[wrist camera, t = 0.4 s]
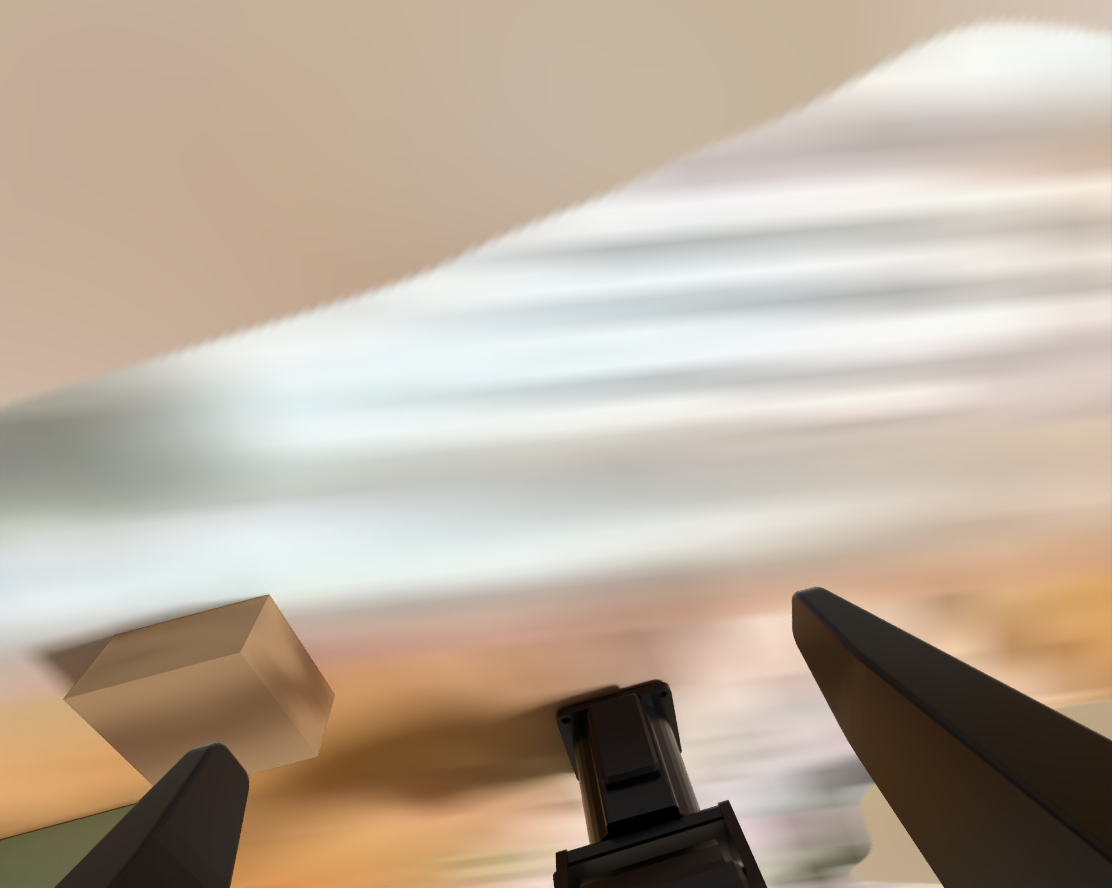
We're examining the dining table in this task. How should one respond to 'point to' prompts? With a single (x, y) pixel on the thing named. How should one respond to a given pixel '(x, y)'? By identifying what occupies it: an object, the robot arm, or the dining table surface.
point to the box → (52, 850)
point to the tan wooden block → (207, 690)
